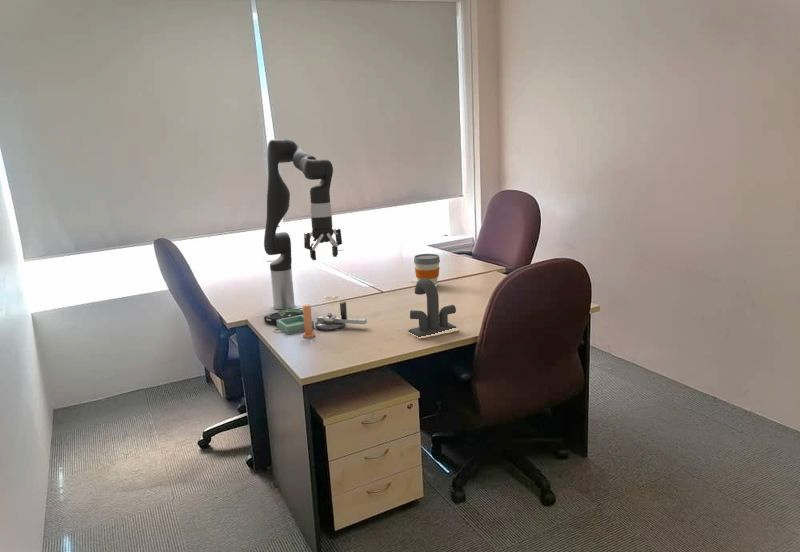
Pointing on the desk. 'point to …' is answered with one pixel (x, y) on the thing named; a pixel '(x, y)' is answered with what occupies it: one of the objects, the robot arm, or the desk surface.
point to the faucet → (431, 311)
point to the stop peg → (307, 322)
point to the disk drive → (282, 315)
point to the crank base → (328, 326)
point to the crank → (343, 319)
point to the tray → (292, 324)
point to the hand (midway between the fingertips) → (324, 258)
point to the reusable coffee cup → (427, 267)
